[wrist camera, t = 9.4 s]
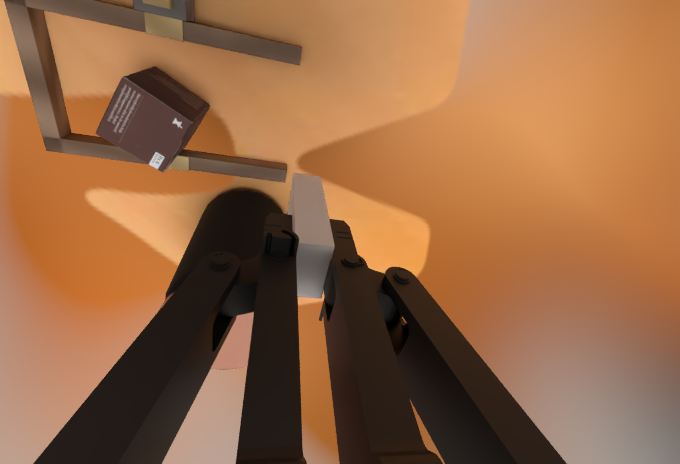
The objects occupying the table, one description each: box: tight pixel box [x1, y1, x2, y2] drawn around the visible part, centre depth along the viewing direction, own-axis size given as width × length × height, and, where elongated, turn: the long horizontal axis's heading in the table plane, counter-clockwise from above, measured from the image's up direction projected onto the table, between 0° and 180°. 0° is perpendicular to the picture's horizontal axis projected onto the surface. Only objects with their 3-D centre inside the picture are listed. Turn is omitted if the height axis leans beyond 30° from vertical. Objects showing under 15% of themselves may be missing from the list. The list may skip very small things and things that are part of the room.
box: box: [96, 67, 210, 172], centre depth 30 cm, size 6×6×7 cm
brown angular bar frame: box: [4, 0, 302, 182], centre depth 31 cm, size 16×24×4 cm
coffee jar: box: [158, 191, 283, 370], centre depth 34 cm, size 11×11×18 cm
